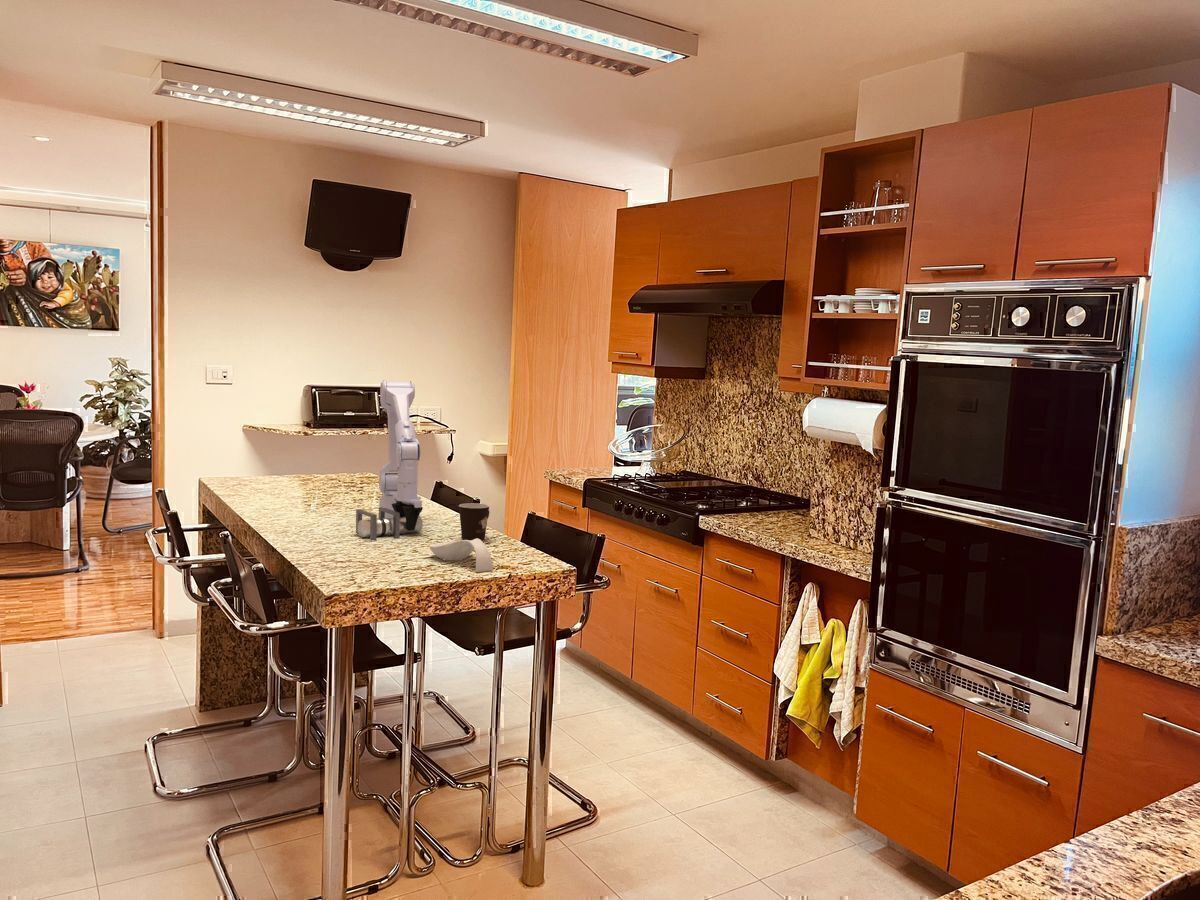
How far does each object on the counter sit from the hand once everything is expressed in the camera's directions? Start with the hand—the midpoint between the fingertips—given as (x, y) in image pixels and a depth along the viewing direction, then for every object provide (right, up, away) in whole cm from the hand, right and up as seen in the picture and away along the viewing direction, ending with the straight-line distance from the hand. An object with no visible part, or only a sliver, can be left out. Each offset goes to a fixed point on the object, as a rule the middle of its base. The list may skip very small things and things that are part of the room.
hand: (406, 528), depth 263 cm
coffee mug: (+22, -3, -5) cm, 22 cm away
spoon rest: (+22, -6, -35) cm, 41 cm away
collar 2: (-4, -2, -3) cm, 6 cm away
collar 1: (-10, -2, -8) cm, 13 cm away
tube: (-4, -2, -3) cm, 5 cm away
